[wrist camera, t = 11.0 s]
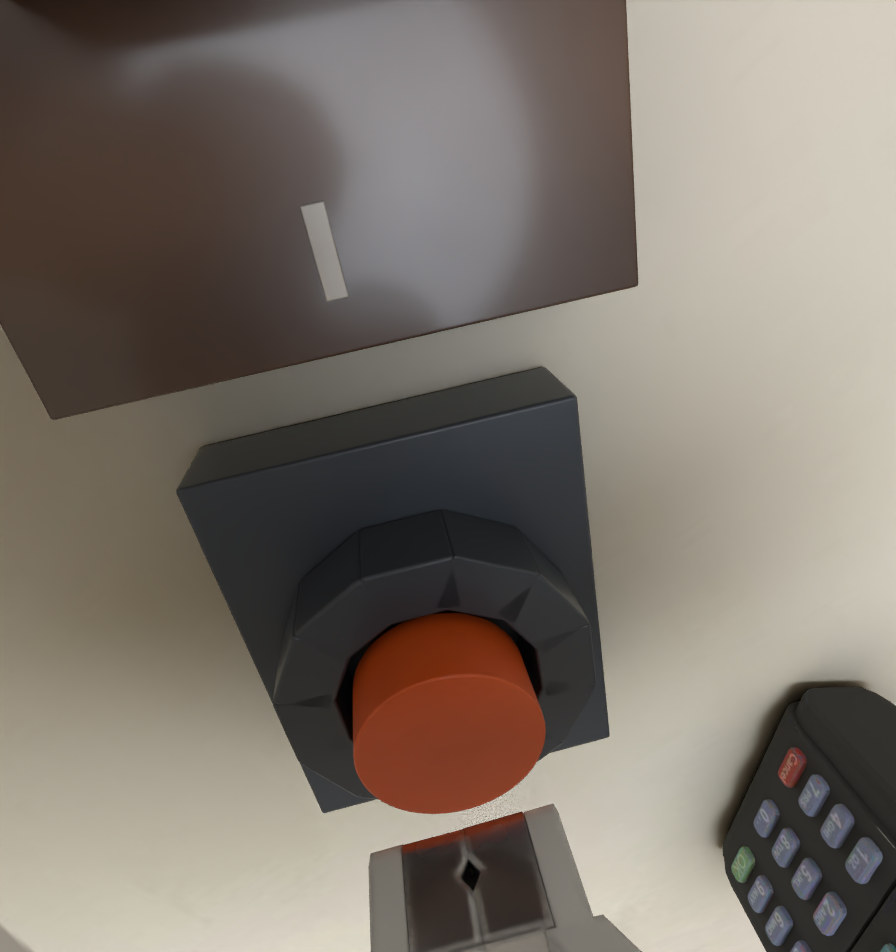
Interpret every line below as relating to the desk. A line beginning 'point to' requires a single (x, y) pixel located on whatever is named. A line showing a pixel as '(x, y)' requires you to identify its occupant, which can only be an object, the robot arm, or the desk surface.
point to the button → (444, 715)
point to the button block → (406, 551)
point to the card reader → (821, 828)
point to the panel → (298, 180)
